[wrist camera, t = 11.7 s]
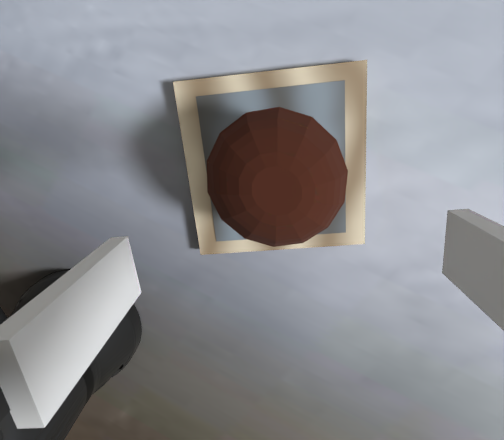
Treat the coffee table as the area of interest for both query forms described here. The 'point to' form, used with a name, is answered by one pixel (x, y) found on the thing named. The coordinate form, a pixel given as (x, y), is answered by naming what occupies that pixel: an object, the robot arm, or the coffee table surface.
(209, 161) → the muffin
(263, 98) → the gold framed mirror
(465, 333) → the coffee table surface
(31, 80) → the coffee table surface
